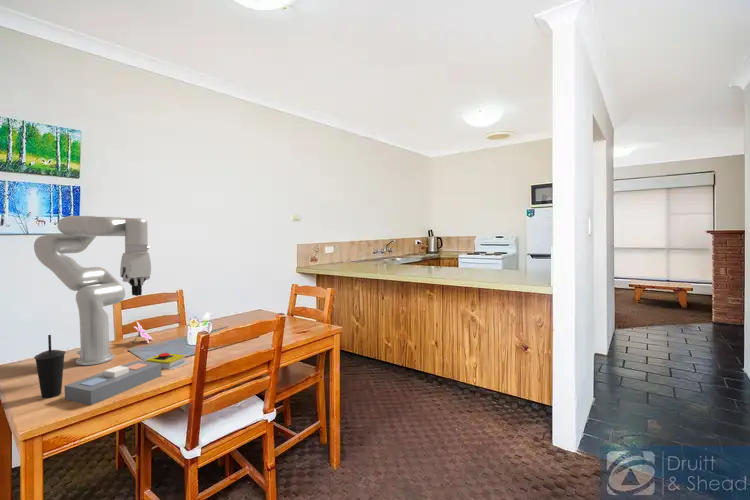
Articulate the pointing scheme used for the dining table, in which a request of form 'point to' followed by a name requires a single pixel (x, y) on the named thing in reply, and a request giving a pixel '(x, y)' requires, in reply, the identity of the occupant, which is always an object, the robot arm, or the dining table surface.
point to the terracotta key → (137, 366)
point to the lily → (142, 333)
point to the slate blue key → (93, 382)
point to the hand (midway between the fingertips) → (136, 295)
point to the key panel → (111, 384)
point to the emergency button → (168, 360)
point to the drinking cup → (50, 371)
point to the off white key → (116, 371)
